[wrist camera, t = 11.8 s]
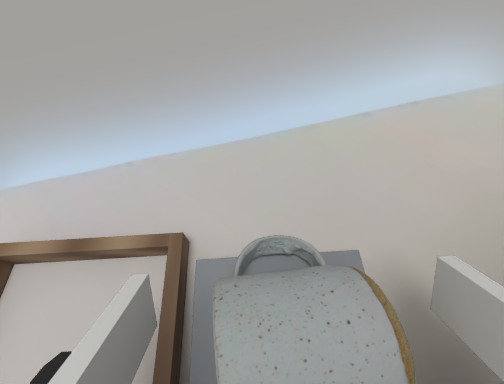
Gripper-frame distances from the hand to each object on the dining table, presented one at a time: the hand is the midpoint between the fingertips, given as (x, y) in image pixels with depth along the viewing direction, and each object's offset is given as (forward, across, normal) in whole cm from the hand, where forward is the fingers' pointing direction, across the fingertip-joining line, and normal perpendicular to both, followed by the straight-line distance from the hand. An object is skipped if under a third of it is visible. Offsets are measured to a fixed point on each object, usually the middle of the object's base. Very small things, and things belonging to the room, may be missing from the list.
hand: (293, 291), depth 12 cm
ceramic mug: (+4, 0, -5) cm, 7 cm away
